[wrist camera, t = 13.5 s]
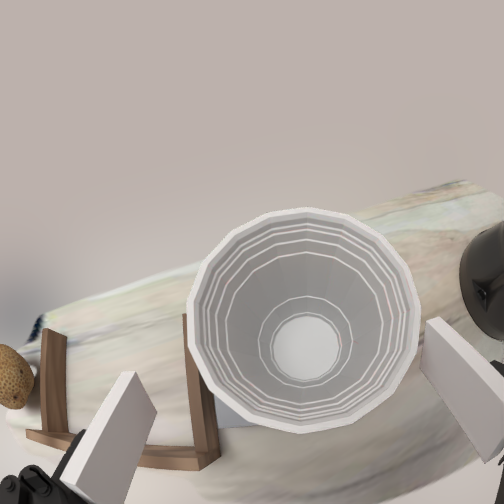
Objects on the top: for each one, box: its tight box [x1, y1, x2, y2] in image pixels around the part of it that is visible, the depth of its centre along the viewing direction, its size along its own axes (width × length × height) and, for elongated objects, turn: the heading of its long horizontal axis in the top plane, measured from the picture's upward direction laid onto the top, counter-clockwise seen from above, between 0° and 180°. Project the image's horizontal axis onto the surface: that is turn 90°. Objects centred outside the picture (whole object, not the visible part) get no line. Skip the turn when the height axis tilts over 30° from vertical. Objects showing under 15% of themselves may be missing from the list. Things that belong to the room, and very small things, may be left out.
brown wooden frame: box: [26, 313, 221, 471], centre depth 24 cm, size 22×15×7 cm
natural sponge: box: [0, 344, 34, 409], centre depth 24 cm, size 9×9×10 cm
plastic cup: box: [187, 207, 421, 434], centre depth 17 cm, size 11×11×12 cm
